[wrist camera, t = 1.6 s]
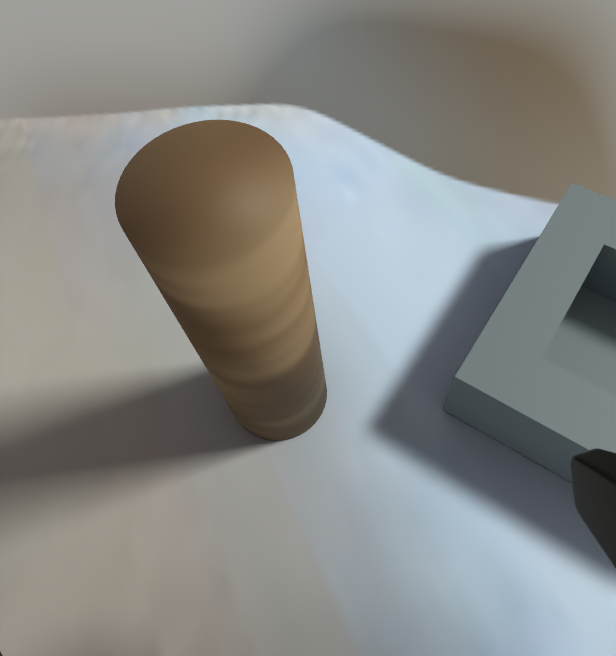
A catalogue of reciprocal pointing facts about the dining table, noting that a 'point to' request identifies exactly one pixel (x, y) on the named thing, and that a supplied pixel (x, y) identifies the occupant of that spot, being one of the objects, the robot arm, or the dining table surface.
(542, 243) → the socket block
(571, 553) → the dining table surface
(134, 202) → the walnut dowel
